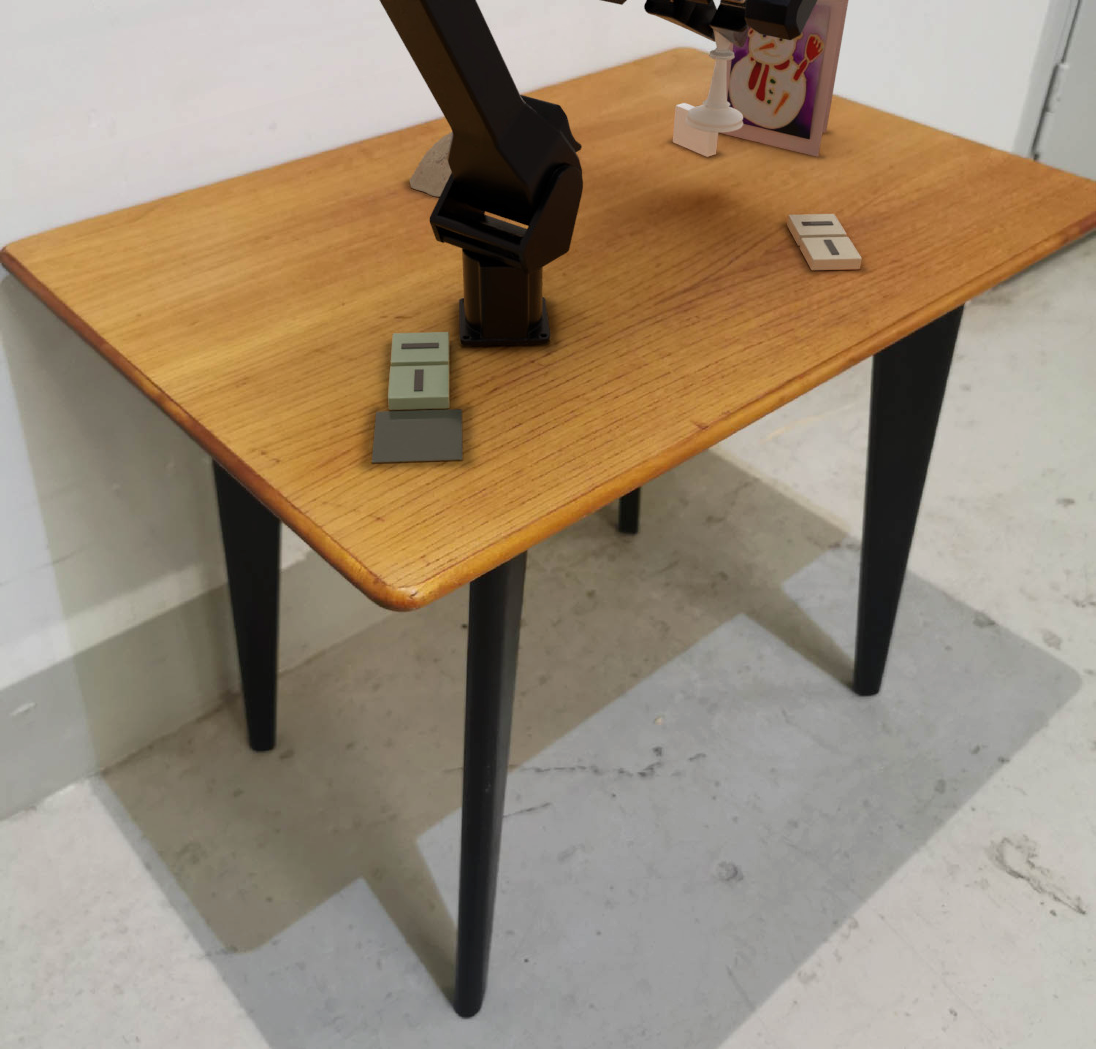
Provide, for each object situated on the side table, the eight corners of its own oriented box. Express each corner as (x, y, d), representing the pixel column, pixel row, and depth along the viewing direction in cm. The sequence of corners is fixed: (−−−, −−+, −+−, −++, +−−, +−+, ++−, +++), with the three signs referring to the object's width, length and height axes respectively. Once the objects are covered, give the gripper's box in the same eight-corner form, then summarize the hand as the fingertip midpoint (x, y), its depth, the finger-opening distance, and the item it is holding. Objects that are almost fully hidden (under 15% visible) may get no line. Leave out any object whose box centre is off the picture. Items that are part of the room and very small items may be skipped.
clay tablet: (495, 210, 99) (494, 180, 97) (402, 185, 103) (400, 156, 101) (577, 157, 108) (577, 129, 106) (489, 136, 112) (488, 109, 110)
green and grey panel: (462, 460, 70) (461, 445, 69) (371, 463, 69) (370, 448, 69) (460, 343, 81) (460, 329, 80) (382, 345, 81) (381, 331, 80)
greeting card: (709, 134, 113) (726, -28, 104) (743, 113, 118) (762, -43, 108) (814, 159, 108) (841, -7, 99) (845, 136, 113) (874, -25, 104)
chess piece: (690, 133, 95) (702, 6, 88) (681, 113, 99) (693, -10, 92) (748, 133, 95) (764, 6, 89) (737, 113, 99) (752, -10, 93)
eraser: (707, 157, 109) (710, 119, 106) (672, 142, 112) (675, 105, 109) (716, 154, 109) (720, 116, 107) (681, 139, 112) (684, 102, 110)
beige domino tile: (860, 269, 90) (862, 257, 90) (811, 270, 90) (813, 258, 90) (832, 224, 97) (834, 212, 96) (786, 225, 97) (788, 213, 96)
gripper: (843, -179, 75) (878, -29, 89) (614, -204, 84) (678, -64, 98) (770, -31, 75) (816, 96, 89) (548, -71, 84) (622, 51, 98)
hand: (731, 39), depth 94 cm, fingers closed on chess piece
